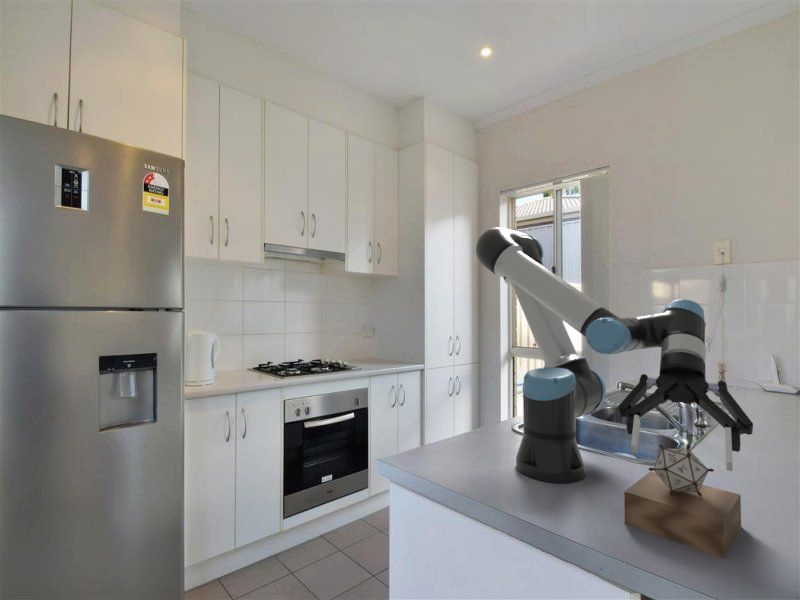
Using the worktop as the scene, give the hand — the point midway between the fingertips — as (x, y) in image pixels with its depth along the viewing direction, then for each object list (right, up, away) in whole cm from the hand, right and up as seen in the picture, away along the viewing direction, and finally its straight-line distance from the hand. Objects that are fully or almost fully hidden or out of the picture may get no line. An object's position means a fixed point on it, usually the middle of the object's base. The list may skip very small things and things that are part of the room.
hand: (679, 457), depth 71 cm
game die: (+1, -7, +2) cm, 7 cm away
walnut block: (+1, -13, +1) cm, 13 cm away
